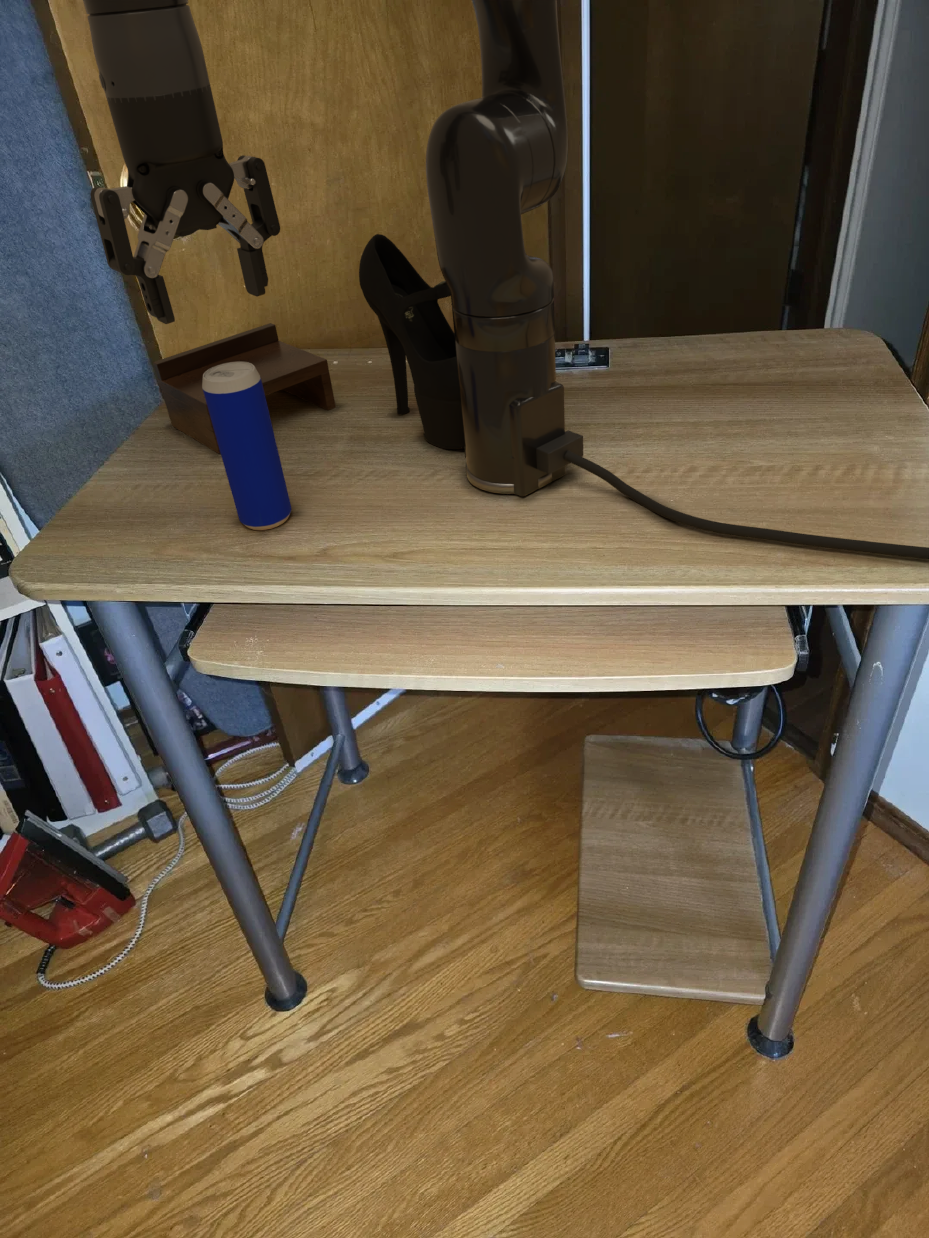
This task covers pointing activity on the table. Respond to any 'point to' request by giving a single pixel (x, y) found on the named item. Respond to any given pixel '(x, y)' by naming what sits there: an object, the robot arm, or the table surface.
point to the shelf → (254, 346)
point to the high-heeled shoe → (415, 339)
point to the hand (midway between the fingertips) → (212, 307)
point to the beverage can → (247, 444)
